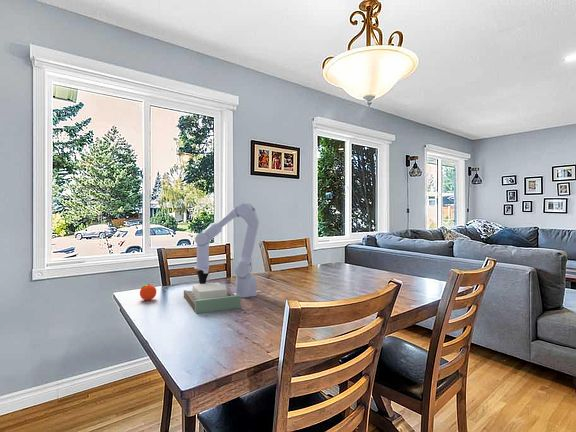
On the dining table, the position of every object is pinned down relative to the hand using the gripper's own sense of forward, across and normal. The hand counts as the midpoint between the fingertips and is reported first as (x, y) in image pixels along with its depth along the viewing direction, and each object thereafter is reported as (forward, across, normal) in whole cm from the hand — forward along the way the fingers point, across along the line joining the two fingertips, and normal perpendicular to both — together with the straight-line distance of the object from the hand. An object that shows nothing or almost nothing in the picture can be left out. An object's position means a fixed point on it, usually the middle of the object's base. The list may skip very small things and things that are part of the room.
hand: (202, 285), depth 160 cm
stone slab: (+1, +13, 0) cm, 13 cm away
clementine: (+4, +1, -25) cm, 25 cm away
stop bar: (+4, +28, 0) cm, 28 cm away
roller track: (+4, +14, 0) cm, 15 cm away
